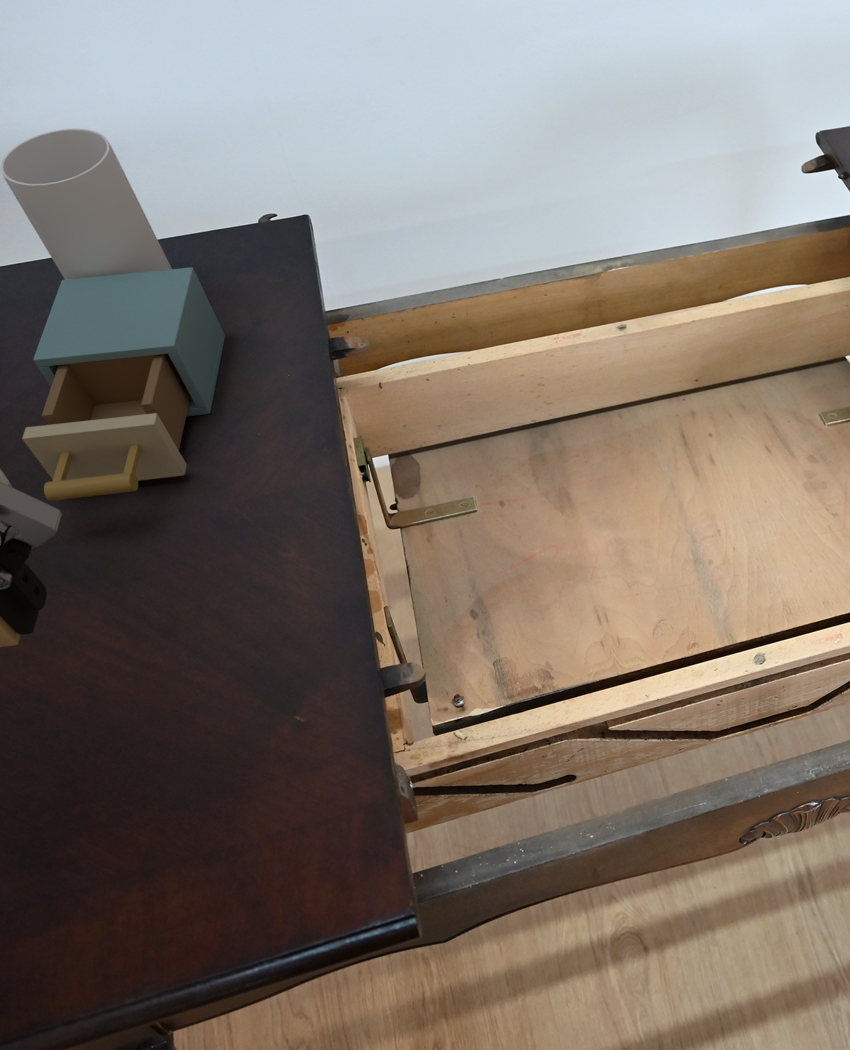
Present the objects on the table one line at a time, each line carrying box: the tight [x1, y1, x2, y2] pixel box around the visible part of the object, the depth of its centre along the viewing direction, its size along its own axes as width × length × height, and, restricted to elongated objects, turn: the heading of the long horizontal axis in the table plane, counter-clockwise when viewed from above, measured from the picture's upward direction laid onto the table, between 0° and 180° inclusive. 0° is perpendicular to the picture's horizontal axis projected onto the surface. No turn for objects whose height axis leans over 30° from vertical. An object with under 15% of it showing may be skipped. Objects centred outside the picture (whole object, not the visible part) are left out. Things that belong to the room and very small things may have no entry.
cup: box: [0, 128, 173, 280], centre depth 89 cm, size 8×8×16 cm
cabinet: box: [32, 266, 226, 417], centre depth 86 cm, size 10×11×8 cm
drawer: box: [21, 354, 190, 502], centre depth 80 cm, size 13×9×6 cm
